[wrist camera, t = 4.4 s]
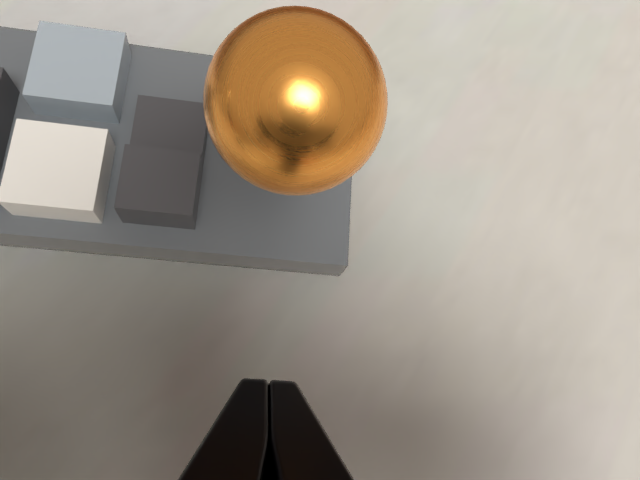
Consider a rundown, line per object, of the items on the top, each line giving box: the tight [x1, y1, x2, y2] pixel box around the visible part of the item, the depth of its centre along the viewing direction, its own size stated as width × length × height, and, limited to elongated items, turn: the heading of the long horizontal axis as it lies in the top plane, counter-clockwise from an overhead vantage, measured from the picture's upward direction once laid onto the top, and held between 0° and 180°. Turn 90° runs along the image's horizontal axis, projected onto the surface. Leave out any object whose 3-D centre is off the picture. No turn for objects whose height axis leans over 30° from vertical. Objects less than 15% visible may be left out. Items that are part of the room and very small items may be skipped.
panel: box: [0, 21, 352, 276], centre depth 18 cm, size 7×18×3 cm, turn 87°
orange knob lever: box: [203, 6, 388, 196], centre depth 13 cm, size 3×3×12 cm
